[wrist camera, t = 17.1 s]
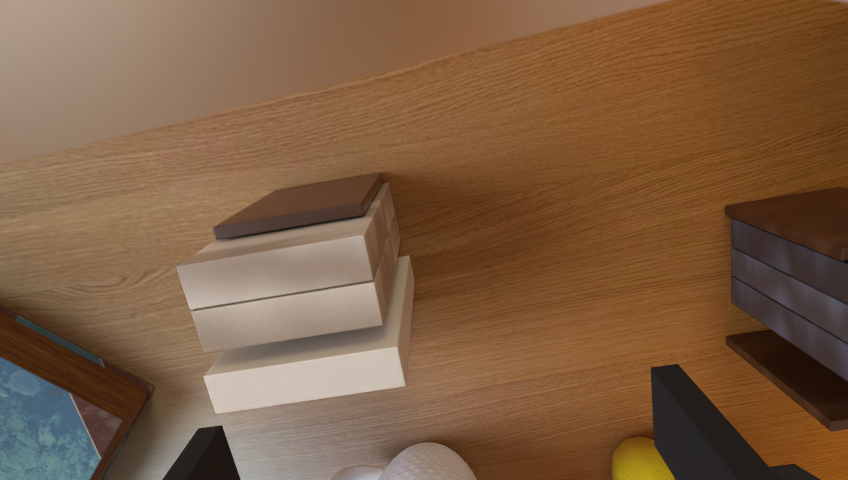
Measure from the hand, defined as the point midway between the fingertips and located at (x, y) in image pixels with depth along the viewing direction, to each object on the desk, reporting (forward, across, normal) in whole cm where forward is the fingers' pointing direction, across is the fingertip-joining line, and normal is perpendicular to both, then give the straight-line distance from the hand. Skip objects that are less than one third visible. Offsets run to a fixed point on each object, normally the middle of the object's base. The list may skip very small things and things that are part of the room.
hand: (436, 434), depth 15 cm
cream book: (+27, -8, -4) cm, 28 cm away
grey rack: (+27, +28, -9) cm, 40 cm away
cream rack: (+27, -8, -2) cm, 28 cm away
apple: (+27, +15, -26) cm, 40 cm away
